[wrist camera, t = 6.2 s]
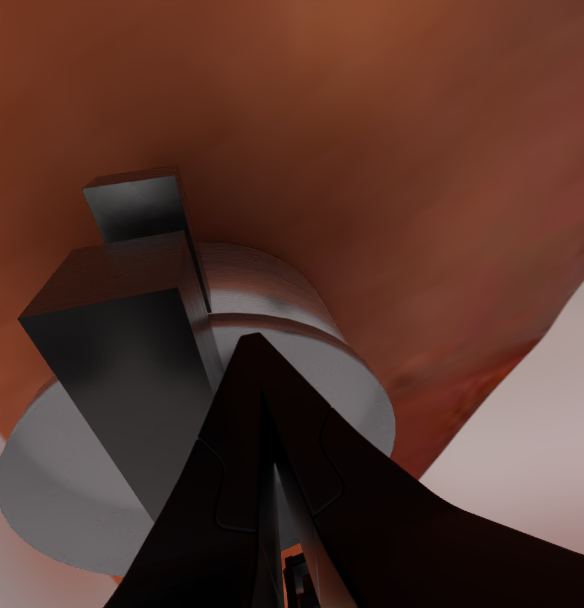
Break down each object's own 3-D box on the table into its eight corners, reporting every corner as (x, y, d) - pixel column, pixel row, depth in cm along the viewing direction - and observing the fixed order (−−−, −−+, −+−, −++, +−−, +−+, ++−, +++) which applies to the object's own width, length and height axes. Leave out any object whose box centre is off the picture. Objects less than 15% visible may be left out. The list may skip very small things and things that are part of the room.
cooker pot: (332, 405, 26) (369, 492, 21) (133, 457, 24) (113, 570, 18) (319, 126, 16) (390, 145, 10) (-35, 174, 14) (-208, 232, 8)
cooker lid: (376, 498, 21) (413, 580, 17) (109, 581, 18) (89, 694, 15) (400, 180, 10) (503, 223, 7) (-198, 280, 8) (-494, 419, 5)
